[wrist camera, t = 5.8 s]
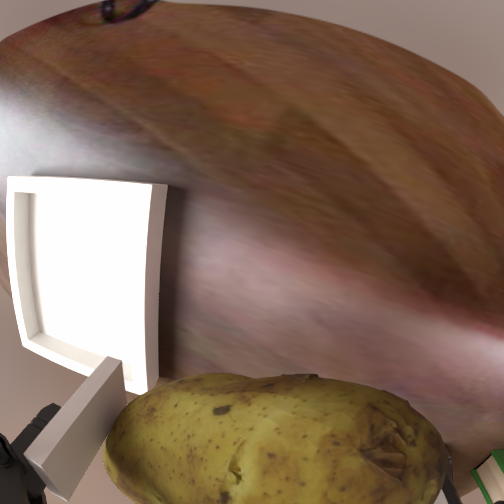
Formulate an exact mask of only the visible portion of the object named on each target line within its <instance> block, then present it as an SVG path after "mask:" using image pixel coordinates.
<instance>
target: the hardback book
mask: <svg viewBox="0 0 504 504" xmlns="http://www.w3.org/2000/svg"><path fill="white" fill-rule="evenodd" d="M491 454H492V455H491V456H490V457H489V458H488V459H487V460H486V461H485V462H484V463H483V464H482V465H481V466H480V467H479V468H476V469H473V470H472V471H471V473H472V474H473V476H474V478H475V480H476V482H477V484H478V486H479V488H480V490H481V492H482V494H483V495H484V498H485V500H486V502H487V504H494V503H495V502H496V501H499V500H502V501H504V450H493V451H492V452H491Z"/></svg>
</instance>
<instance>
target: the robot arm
mask: <svg viewBox="0 0 504 504" xmlns="http://www.w3.org/2000/svg"><path fill="white" fill-rule="evenodd" d="M126 404H127V397H126V390H125V382H124V374H123V364H122V360H119V359H116V358H113V357H110V356H107V357H106V358H105V359H104V360H103V361H102V362H101V363H100V365H99V366H98V367H97V368H96V369H95V370H94V371H93V372H92V374H91V375H90V376H89V377H88V378H87V379H86V380H85V381H84V383H83V384H82V385H81V386H80V387H79V388H78V389H77V391H76V392H75V393H74V394H73V395H72V396H71V397H70V399H69V400H68V401H67V402H66V403H65V405H64V406H63V407H60V406H58V405H56V404H54V403H52V404H50V405H48V406H46V407H44V408H43V409H42V410H41V411H40V412H39V413H38V414H37V416H36V418H34V419H33V420H32V421H31V423H30V424H28V425H27V427H26V428H25V429H24V430H23V431H22V432H21V433H20V434H19V436H18V437H17V438H16V439H15V440H14V441H13V442H12V444H9V442H8V440H7V439H6V437H5V436H4V435H2V434H1V433H0V504H47V502H46V496H45V493H44V489H45V487H46V486H47V488H48V489H49V490H50V491H51V492H52V493H53V494H55V495H57V496H58V497H60V498H62V499H63V500H65V501H67V502H68V501H69V499H70V498H71V496H72V494H73V492H74V491H75V489H76V487H77V485H78V484H79V482H80V480H81V479H82V477H83V475H84V474H85V472H86V470H87V469H88V467H89V465H90V463H91V462H92V460H93V458H94V457H95V455H96V453H97V452H98V450H99V449H100V447H101V445H102V444H103V442H104V440H105V439H106V437H107V435H108V434H109V432H110V430H111V428H112V426H113V424H114V422H115V420H116V418H117V417H118V416H119V414H120V413H121V411H122V410H123V409H124V408H125V406H126ZM445 447H446V446H445ZM446 451H447V471H446V476H445V480H444V483H443V486H442V489H441V491H440V493H439V495H438V497H437V499H436V501H435V502H434V504H462V502H461V500H460V497H459V495H458V493H457V491H456V489H455V487H454V484H453V473H452V466H451V461H452V459H451V455H450V453H449V451H448V449H447V447H446ZM494 504H504V501H502V500H499V501H496V502H495V503H494Z"/></svg>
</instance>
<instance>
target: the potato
mask: <svg viewBox="0 0 504 504" xmlns="http://www.w3.org/2000/svg"><path fill="white" fill-rule="evenodd" d="M103 462H104V466H105V469H106V471H107V474H108V475H109V477H110V478H111V480H112V481H113V483H114V484H115V485H116V486H117V488H118V489H119V490H120V491H121V492H122V493H123V494H124V495H126V496H127V497H128V498H129V499H130V500H132V501H133V502H134V503H136V504H434V502H435V501H436V499H437V497H438V495H439V493H440V491H441V489H442V486H443V483H444V480H445V476H446V471H447V451H446V447H445V444H444V442H443V440H442V437H441V435H440V433H439V432H438V431H437V429H436V428H435V427H434V426H433V424H431V423H430V422H429V421H428V420H427V419H426V418H425V417H424V416H423V415H421V414H420V413H419V412H417V411H416V410H415V409H414V408H412V407H411V406H410V404H409V402H408V401H406V400H404V399H402V398H400V397H398V396H396V395H394V394H392V393H389V392H387V391H385V390H377V389H375V388H372V387H368V386H364V385H360V384H356V383H352V382H346V381H341V380H335V379H325V378H320V377H318V375H317V374H294V375H285V374H283V375H281V376H275V377H266V378H259V379H254V378H250V377H246V376H242V375H236V374H231V373H207V374H198V375H194V376H190V377H186V378H182V379H178V380H175V381H172V382H169V383H166V384H163V385H161V386H158V387H156V388H154V389H152V390H149V391H147V392H145V393H144V394H142V395H140V396H139V397H137V398H136V399H134V400H133V401H132V402H130V403H129V404H128V405H127V406H126V407H125V408H124V409H123V410H122V411H121V413H120V414H119V416H118V417H117V418H116V420H115V422H114V424H113V426H112V428H111V430H110V432H109V434H108V436H107V438H106V441H105V444H104V447H103Z"/></svg>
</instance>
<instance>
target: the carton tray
mask: <svg viewBox="0 0 504 504" xmlns="http://www.w3.org/2000/svg"><path fill="white" fill-rule="evenodd" d="M167 189H168V185H166V184H156V183H146V182H135V181H123V180H110V179H96V178H80V177H59V176H9V177H8V183H7V205H6V230H7V251H8V264H9V274H10V282H11V289H12V296H13V302H14V308H15V313H16V318H17V323H18V327H19V332H20V336H21V340H22V344H23V346H24V347H26V348H28V349H30V350H31V351H33V352H35V353H37V354H39V355H41V356H43V357H45V358H47V359H49V360H51V361H54V362H56V363H58V364H60V365H62V366H64V367H67V368H69V369H71V370H74V371H76V372H78V373H81V374H83V375H86V376H88V377H89V376H90V375H91V374H92V372H93V371H94V370H95V369H96V368H97V367H98V366H99V365H100V363H101V362H102V361H103V360H104V359H105V358H106V357H107V356H110V357H113V358H116V359H119V360H122V364H123V374H124V382H125V390H127V391H130V392H133V393H136V394H139V395H142V394H144V393H145V392H147V391H149V390H152V389H153V387H154V385H155V384H156V382H157V380H158V378H159V366H158V310H159V282H160V264H161V249H162V237H163V225H164V215H165V206H166V197H167Z"/></svg>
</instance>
